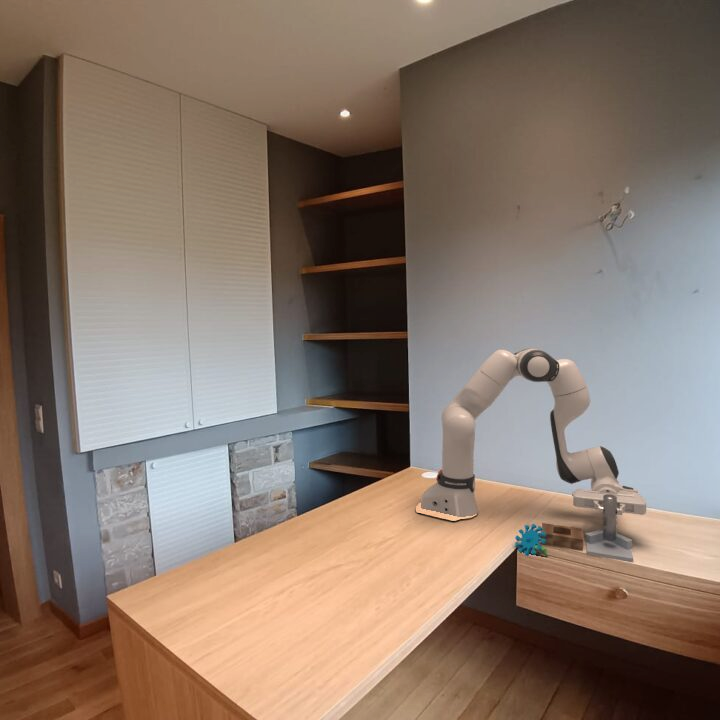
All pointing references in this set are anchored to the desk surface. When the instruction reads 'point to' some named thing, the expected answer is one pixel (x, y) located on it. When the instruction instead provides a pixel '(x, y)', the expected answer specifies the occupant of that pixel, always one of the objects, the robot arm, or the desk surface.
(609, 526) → the axle
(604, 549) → the v block
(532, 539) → the blue spiky virus model
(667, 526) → the desk surface
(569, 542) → the brown slotted block
